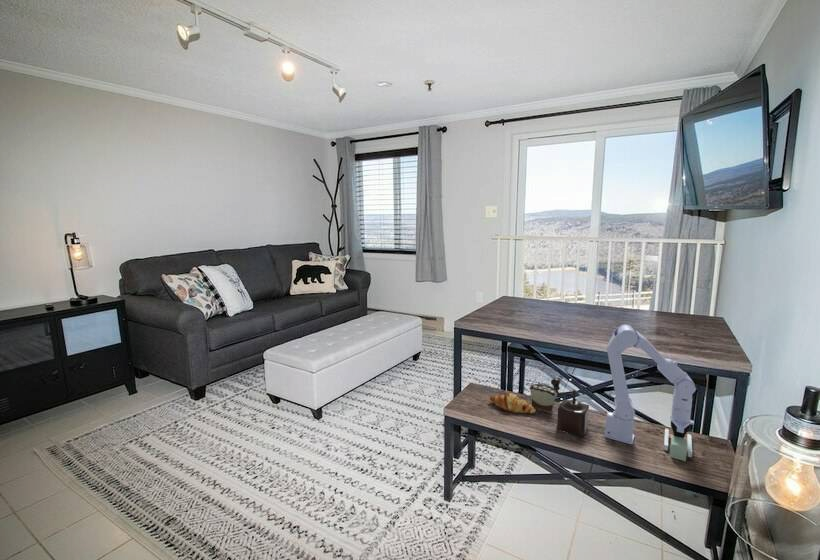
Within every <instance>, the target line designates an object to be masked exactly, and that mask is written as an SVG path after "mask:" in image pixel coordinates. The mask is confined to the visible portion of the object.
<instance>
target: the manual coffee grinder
mask: <svg viewBox="0 0 820 560" xmlns="http://www.w3.org/2000/svg"><path fill="white" fill-rule="evenodd" d="M550 384H551V385H552V387H553V389H554V390H556V393H557V395H560V396H567V397H568V396H569V397H570V396H572V399H571V400H569V399H563V400H562V401H561V402H560V404H559V406H558V407H557V421H556V423H557V424H556V430H557V429H558V430H557V431H559V430H561V431H560V432H562V431H565V432H564V433H566V432H568V433H567V434H569V433H570V435H573V434H574V436H578V437H582V438H583V437H584V436H585V434H587V433H586V432H587V430H588V428H589V427H588V425H589V424H588V423H589V408H590V405H589V404H586V403H583V402H580V401H577V398H576V396H577V393H576V392H577V390H576V389H573V390H572V393H568V392H567V393H565V392H564V393H563V392H559V390H561V387H560V385H561V380H560V379H559V378H552V379H551V381H550Z"/></svg>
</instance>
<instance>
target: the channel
mask: <svg viewBox="0 0 820 560" xmlns="http://www.w3.org/2000/svg"><path fill="white" fill-rule="evenodd" d="M669 431H670V430H669V429H668V428H665V429H664V435H663V436H664V439H663V440H664V441H663V450H664V451H667V452H668V450H669V439H670V440H671V437H672V435H673V436H674V433H673V434H672V433H669ZM684 438H685V439H687V457H689V458H693V443H692V440H693V439H692V434H689V433H686V437H685V436H684Z"/></svg>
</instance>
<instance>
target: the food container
mask: <svg viewBox="0 0 820 560" xmlns="http://www.w3.org/2000/svg"><path fill="white" fill-rule="evenodd" d="M553 388H554V386H553V385H552V386H551V385H548V384H544V383H533V384H530V386H529V389H528V390H530V402H531V403H530V404H531V405H532V406H533V407H535V408H534V409H537V410H541V411H543V410H544V412H546V411H547V412H546V413H549V412H550V413H549V414H553V412H554V405H555V399H556V398H557V396H558V394H557V393H556V390H554V389H553Z"/></svg>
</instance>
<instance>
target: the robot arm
mask: <svg viewBox="0 0 820 560" xmlns="http://www.w3.org/2000/svg"><path fill="white" fill-rule="evenodd" d="M631 347H634V349H640V350H642V351H643V352H644V353H645V354H646V355H648V356H649V357H650V358H651V359H652V360H653V361H654V362H655V363H656V364H657V366H656V367H657V370H658V372H660V373H661V374H662V375H663V376H664V377H665V378H666V379H667V380H668V381H669V382H670V383H671V384H673V386H674V388H673V394H672V405H671V413H670V414H671V415H670V418H669V419H670V428H671V429H672V432H673V435H674V436H677V437H681V438H684V437H685V436H686V435H687V434H688V432H689V430H690V425H692V426H693V425H694V424H695V421H694V420H692V419H691V415H692V406H693V404H692V403H693V394H694V393H696V390H697V387H696V385H695V383H694V380H693V379H692V378H691V377H690V376H689V375H688V373H687V372H686V371H683V369H681V368H680V367H679V366H678V362H677V361H676V360H672V359H671V358H666V357H664V356H663V355H662V353H660V352H659V351H658V350H657V349H656V348H655V347H654V346H653V344H652V343H651V342H650V341H649V340H648V339H647V338H646V337H645V336H643V334H641V333H640V332H639V331H638V330H635V329H634V328H633V326H631V325H630V324H621V325H620V326H618V327H617V328H616V329H615V330H613V332H612V335H611V338H610V339H609V341H608V343H607V345H606V351H607V357H608V362H609V367H610V368H609V369H610V373H611V377H612V384H613V389H614V394H615V397H614V401H613V403H614V407H615V409H614V410H613V412H611V411H607V414H606V420H605V427H604V430H605V431H604V432H605V433H604V438H606V439H611V440H613V441H617V442H620V443H621V442H622V443H625V444H629V445H633V444H634V438H635V434H634V426H635V425H634V423H635V415H636V411H635V408H634V406H633V402H632V399H631V398H630V396H629V390H628V386H627V380H626V375H625V374H626V373H625V369H624V362H623V358H622V353H623V352H624V351H626V350H627V349H629V348H631Z"/></svg>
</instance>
